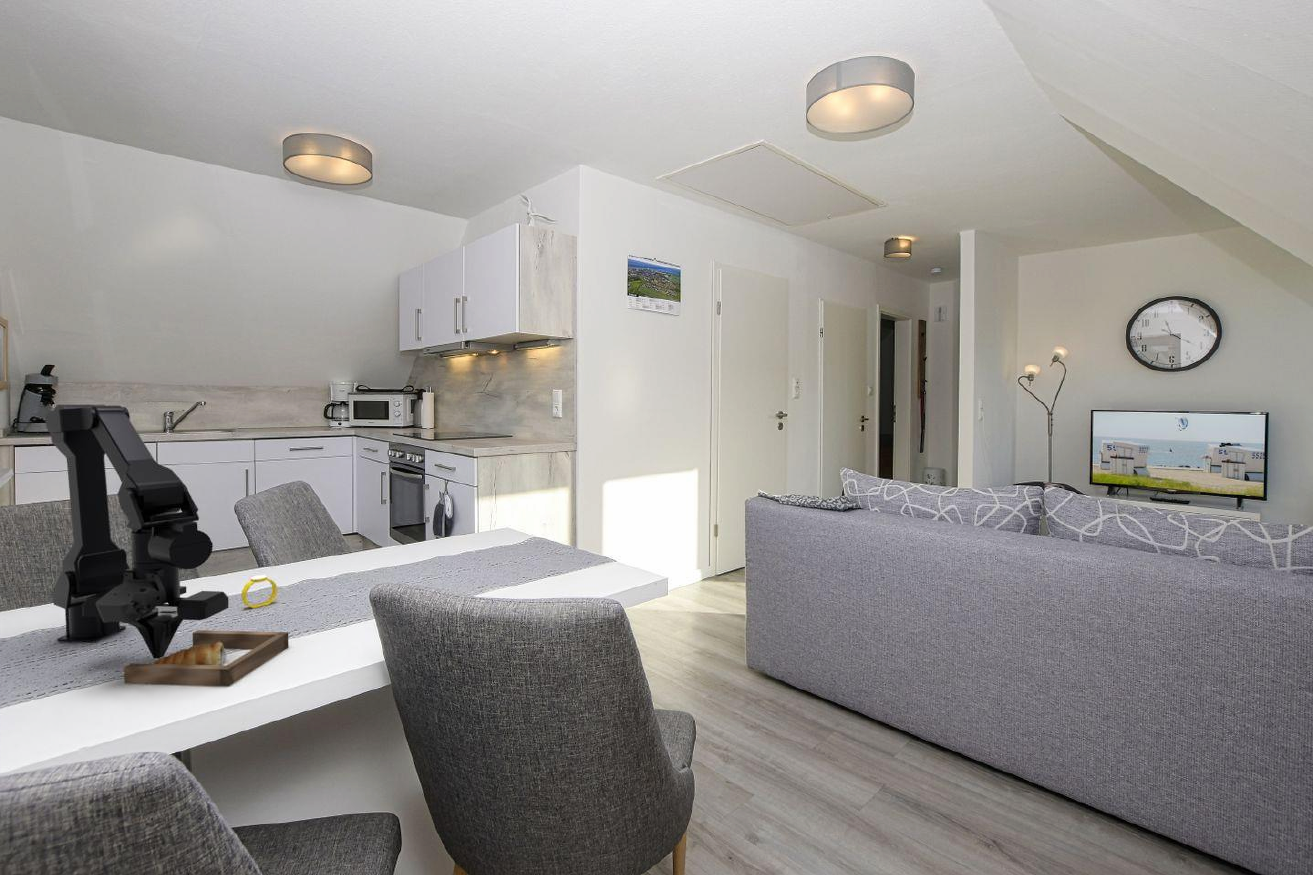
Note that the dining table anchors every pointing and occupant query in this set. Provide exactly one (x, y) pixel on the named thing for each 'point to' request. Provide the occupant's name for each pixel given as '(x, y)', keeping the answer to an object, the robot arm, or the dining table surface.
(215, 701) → the dining table surface
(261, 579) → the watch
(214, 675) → the frame
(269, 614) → the dining table surface
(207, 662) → the pastry
